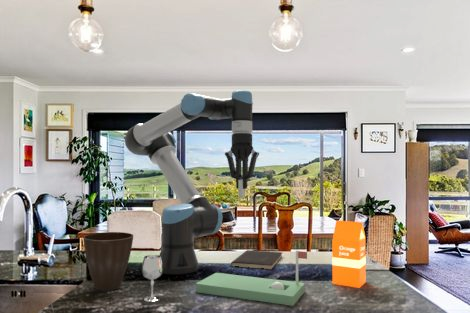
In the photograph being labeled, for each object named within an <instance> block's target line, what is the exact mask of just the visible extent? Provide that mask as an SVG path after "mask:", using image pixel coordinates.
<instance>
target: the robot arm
mask: <svg viewBox="0 0 470 313" xmlns="http://www.w3.org/2000/svg"><path fill="white" fill-rule="evenodd" d="M253 104H254V102H253V94H252V92H251V91H250V90H249V91H248V90H241V89H240V90H239V89H238V90H235V91H234V90H233V91H232V93H231V97H228V98H218V97H213V96H208V95H204V94H203V95H202V94H199V93H192V92H190V93H185V94H184V96H182V99H181V101H180V103H178V104H176V105H174V106H173V107H171V108H169V109H167V110H166V111H164V112H161V113H160V114H159V115H157V116H155V117H153V118H151V119H150V120H148V121H146V122H144V123H137V124H135V125H134V126H133V125H132V127H131V128H129V129H128V130H127V132H126V133H125V136H124V145H125V148H127V149H128V151H129V152H131V153H132V154H133V155H137V156H148V158H149V160H150V162H151V163H152V164H153V165H157V166H158V168H159V170H160V171H161V173H162V175H163V176H164V178H165V180H166V182H167V183H168V185H169V187H170V188H171V190H172V192H173V193H174V196H175V197H176V199H177V200H178V203H179V204H172V205H168V206H166V207H164V208H163V209H162V212H161V250H160V252H159V254H158V255H159V256H161V260H162V265H163V270H162V274H165V275H186V274H192V273H195V272H197V271H199V262H198V258H197V254H196V251H195V247H194V241H195V239H196V238H199V237H200V238H201V237H204V236H206V237H207V236H211V235H214V234H216V233H218V232H219V230H220V229H221V227H222V225H223V212H222V210H221V208H220V206H218V205H216V204H211V203H210V201H209V200H208V198H207V197H206V196H203V195H201V194H200V192H199V191H198V189H197V187H196V186H195V184H194V182H193V181H192V180H191V178H190V177H189V175H188V173H187V172H186V170H185V169H184V167H183V164H182V163H181V162H180V160H179V159H178V157H177V156H176V154H177V153H176V152H177V150H176V149H177V145H176V143H177V141H176V138H175V136H174V135H173V134H172V133H171V131H174V130H175V129H178V128H181V127H182V126H183V125H185V124H187V123H189V122H191V121H193V120H196V119H197V118H199V117H202V118H203V117H204V118H208V119H209V120H216V121H219V120H224V119H226V120H227V119H231V132H232V134H231V147H230V150H229V151H226V152H224V155H225V157H226V159H227V163H228V168H229V172H230V177H231V178H232V179H235V181H236V182H235V185H236V186H235V188H236V189H238V199H245V198H246V189H247V188H248V181H249V179H252V178H253V175H254V171H255V167H256V163H257V160H258V157H259V155H260V152H259V151H258V152H257V151H256V150H255V149H254V147H253V134H252V133H253V119H252V118H253ZM250 155H251V157H250ZM233 156H234V157H233ZM249 157H250V162H249ZM234 158H235V162H234Z"/></svg>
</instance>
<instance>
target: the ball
mask: <svg viewBox="0 0 470 313" xmlns="http://www.w3.org/2000/svg"><path fill="white" fill-rule="evenodd" d="M271 289H279V290H284V286H283V284H282V283H280V282H274V283H273V284H272V285H271Z"/></svg>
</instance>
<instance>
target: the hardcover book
mask: <svg viewBox="0 0 470 313" xmlns="http://www.w3.org/2000/svg"><path fill="white" fill-rule="evenodd" d="M282 255H283V252H282V251H281V252H280V251H266V250H265V251H264V250H254V249H253V250H251V249H250V250H249V249H248V250H247V249H246V250H245V251H243V253H241V254H240V255H239V256H237V257H236V258H235V259H234V260H232V261H231V262H230V267H235V266H239V268H248V267H249V268H250V269H261V268H264V270H272V269H273V268H274V267H275V265H276V264H277V263H278V262H277V261H280V259H281V258H282Z"/></svg>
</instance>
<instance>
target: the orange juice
mask: <svg viewBox="0 0 470 313" xmlns="http://www.w3.org/2000/svg"><path fill="white" fill-rule="evenodd" d="M365 233H366V232H365V229H364V225H363V222H362V221H349V220H336V221H335V226H334V230H333V237H332V240H331V241H332V246H331V247H332V251H331V252H332V257H331V258H332V259H331V260H332V261H331V264H332V265H331V266H332V267H331V268H332V285H340V286H345V287H351V288H358V289H360V288H361V287H362V286H363V285H364V284H366V283H367V281H366V280H367V275H366V271H367V270H366V268H367V267H366V266H367V265H366V264H367V261H366V260H367V256H366V253H367V251H366V234H365Z"/></svg>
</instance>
